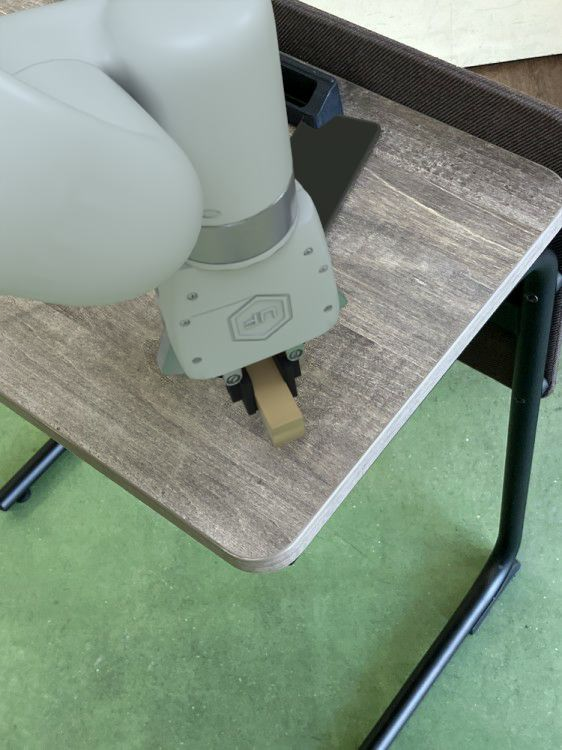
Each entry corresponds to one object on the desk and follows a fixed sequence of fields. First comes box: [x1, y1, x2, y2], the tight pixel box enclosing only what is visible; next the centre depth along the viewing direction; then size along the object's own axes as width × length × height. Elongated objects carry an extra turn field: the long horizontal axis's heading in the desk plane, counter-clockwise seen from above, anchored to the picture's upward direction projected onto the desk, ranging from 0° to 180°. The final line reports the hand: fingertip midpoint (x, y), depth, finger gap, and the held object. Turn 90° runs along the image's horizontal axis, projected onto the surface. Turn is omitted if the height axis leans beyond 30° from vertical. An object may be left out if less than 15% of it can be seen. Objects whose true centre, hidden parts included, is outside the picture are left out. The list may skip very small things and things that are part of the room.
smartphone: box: [289, 112, 382, 236], centre depth 82 cm, size 7×1×16 cm
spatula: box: [245, 356, 307, 448], centre depth 66 cm, size 15×5×2 cm, turn 22°
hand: (265, 388), depth 65 cm, fingers closed on spatula, 2 cm apart
